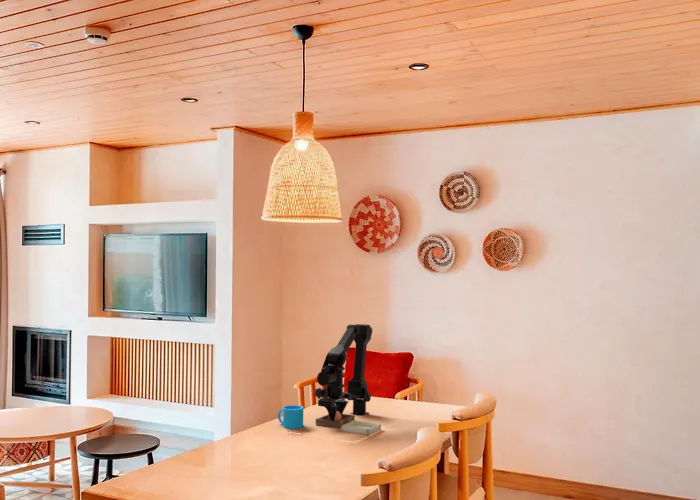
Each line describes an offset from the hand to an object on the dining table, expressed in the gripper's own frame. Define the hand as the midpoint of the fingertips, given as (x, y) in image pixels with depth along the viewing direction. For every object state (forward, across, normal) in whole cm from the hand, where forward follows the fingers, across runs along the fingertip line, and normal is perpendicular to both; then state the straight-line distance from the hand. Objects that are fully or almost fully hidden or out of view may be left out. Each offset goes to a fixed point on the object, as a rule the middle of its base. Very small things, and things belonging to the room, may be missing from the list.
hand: (335, 420), depth 253 cm
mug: (+2, +13, -14) cm, 19 cm away
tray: (+2, +4, +14) cm, 15 cm away
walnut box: (+2, 0, 0) cm, 2 cm away
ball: (+1, 0, 0) cm, 1 cm away
